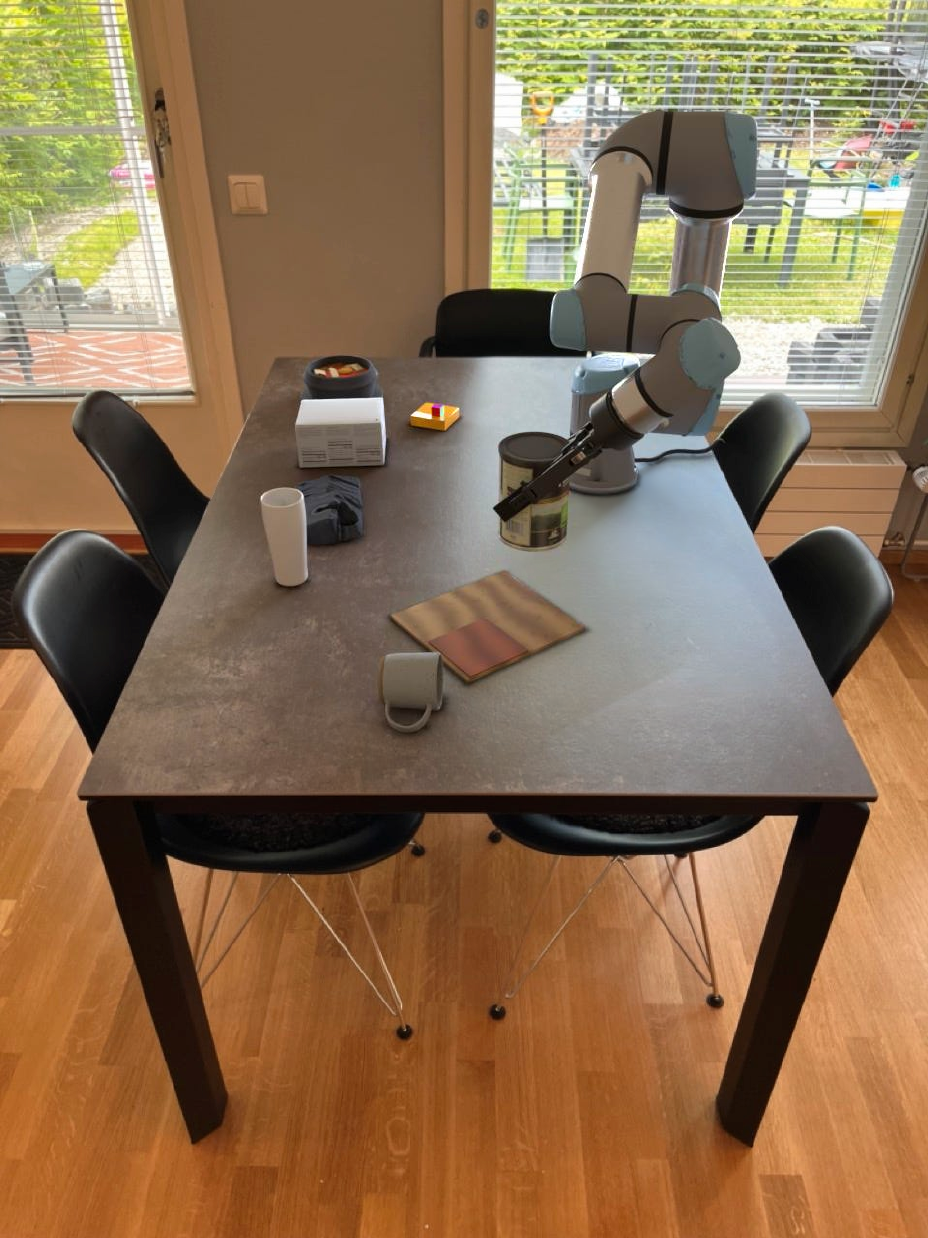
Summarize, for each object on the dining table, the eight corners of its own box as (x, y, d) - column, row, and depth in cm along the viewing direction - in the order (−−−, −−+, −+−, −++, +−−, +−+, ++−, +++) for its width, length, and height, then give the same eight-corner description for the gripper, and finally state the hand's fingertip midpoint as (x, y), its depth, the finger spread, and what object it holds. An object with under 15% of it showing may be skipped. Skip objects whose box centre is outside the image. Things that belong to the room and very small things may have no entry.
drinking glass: (320, 572, 160) (311, 490, 151) (301, 593, 155) (291, 510, 146) (283, 565, 162) (272, 484, 153) (263, 586, 156) (251, 503, 148)
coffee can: (570, 520, 145) (576, 433, 137) (562, 555, 137) (568, 464, 129) (503, 514, 147) (504, 428, 139) (491, 548, 139) (492, 458, 131)
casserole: (381, 423, 210) (379, 386, 205) (295, 425, 209) (291, 388, 204) (385, 380, 230) (383, 346, 225) (306, 382, 230) (303, 347, 225)
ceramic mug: (386, 683, 136) (383, 639, 131) (444, 685, 135) (443, 641, 131) (374, 734, 127) (371, 689, 123) (437, 737, 126) (435, 692, 122)
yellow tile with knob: (410, 425, 209) (409, 406, 206) (426, 411, 215) (425, 393, 212) (444, 431, 206) (444, 412, 204) (459, 417, 212) (459, 398, 210)
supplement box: (386, 438, 203) (384, 396, 198) (384, 466, 192) (382, 422, 187) (305, 440, 203) (300, 397, 197) (299, 468, 192) (294, 424, 186)
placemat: (503, 573, 159) (504, 569, 159) (585, 630, 146) (585, 625, 145) (390, 618, 149) (390, 614, 148) (467, 684, 135) (467, 679, 135)
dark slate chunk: (372, 486, 185) (370, 464, 182) (361, 545, 167) (359, 521, 164) (292, 486, 185) (289, 464, 182) (272, 545, 167) (269, 521, 164)
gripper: (622, 469, 118) (500, 554, 132) (668, 403, 135) (556, 485, 149) (583, 421, 117) (465, 512, 131) (635, 361, 134) (525, 447, 148)
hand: (513, 498), depth 140 cm, fingers closed on coffee can, 10 cm apart
